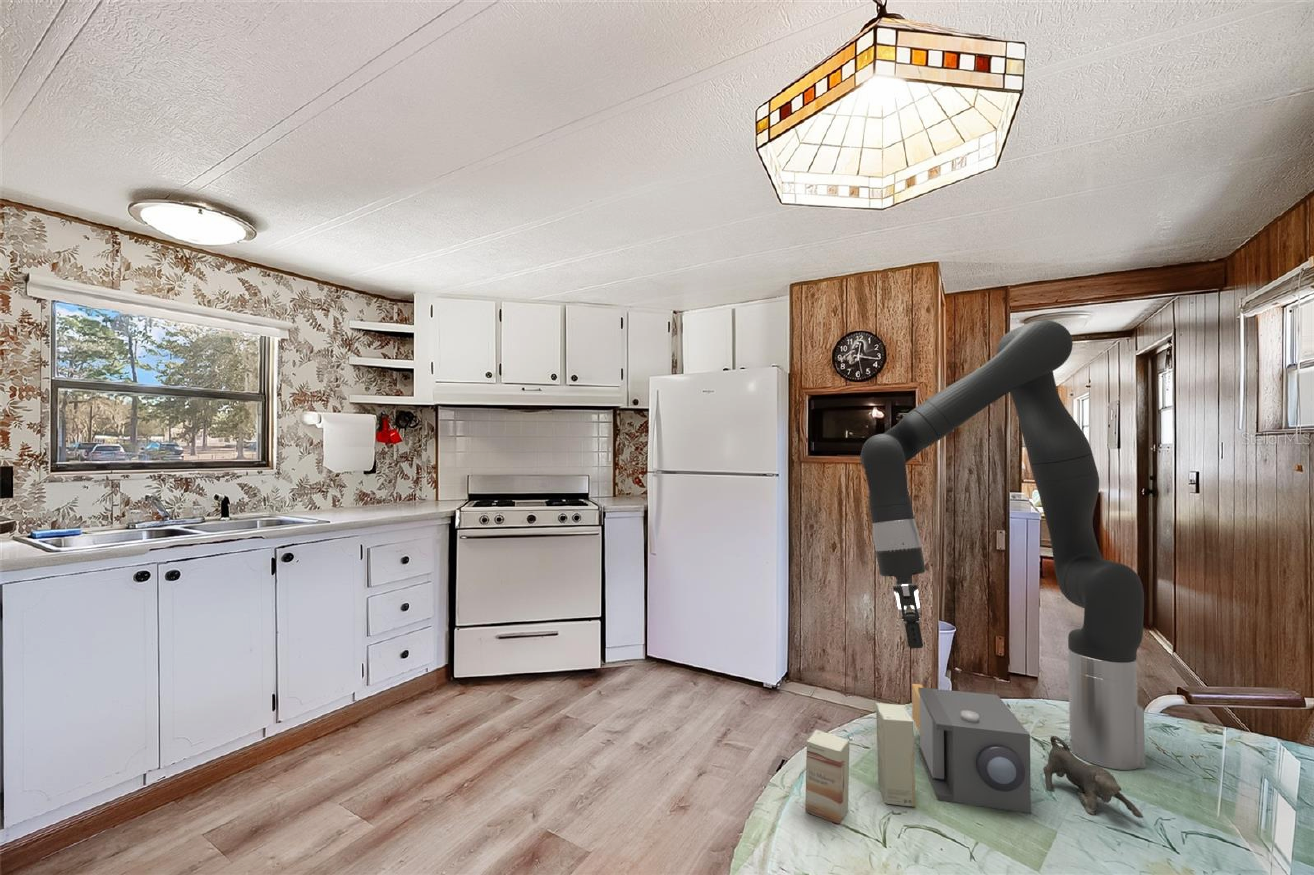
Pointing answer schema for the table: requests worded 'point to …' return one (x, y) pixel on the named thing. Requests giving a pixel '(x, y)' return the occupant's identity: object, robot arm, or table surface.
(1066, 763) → the dog figurine
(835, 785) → the skincare box
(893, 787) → the skincare box
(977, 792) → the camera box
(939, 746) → the door
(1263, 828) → the table surface
